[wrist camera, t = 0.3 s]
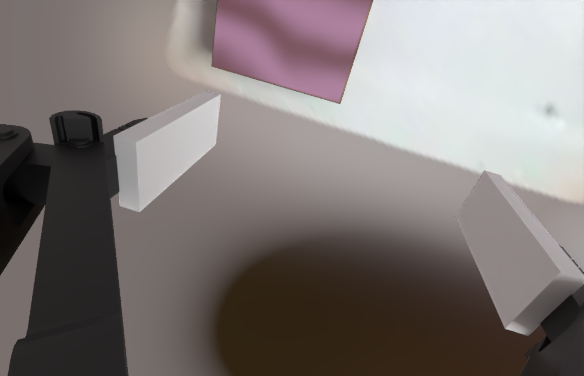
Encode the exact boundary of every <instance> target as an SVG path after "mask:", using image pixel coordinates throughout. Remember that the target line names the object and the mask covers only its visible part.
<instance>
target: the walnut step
mask: <svg viewBox="0 0 584 376" xmlns="http://www.w3.org/2000/svg"><path fill="white" fill-rule="evenodd" d="M372 3H373V0H217V10H216V21H215V32H214V44H213V55H212V67H215V68H219V69H222V70H226V71H229V72H233V73H236V74H239V75H243V76H246V77H250V78H253V79H256V80H260V81H263V82H267V83H270V84H274V85H277V86H280V87H284V88H287V89H291V90H294V91H297V92H301V93H304V94H308V95H311V96H315V97H318V98H321V99H325V100H328V101H332V102H335V103H338V104H340V103H341V100H342V97H343V94H344V91H345V88H346V84H347V81H348V78H349V75H350V72H351V69H352V66H353V62H354V59H355V56H356V53H357V50H358V47H359V44H360V40H361V37H362V34H363V31H364V28H365V25H366V22H367V18H368V15H369V12H370V9H371V6H372Z"/></svg>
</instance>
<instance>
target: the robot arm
mask: <svg viewBox="0 0 584 376" xmlns="http://www.w3.org/2000/svg"><path fill="white" fill-rule="evenodd" d="M220 97H221V94H218V93H215V92H211V91H208V90H206V91H203V92H201V93H199V94H197V95H195V96H193V97H191V98H189V99H187V100H185V101H183V102H181V103H179V104H177V105H175V106H173V107H171V108H169V109H167V110H165V111H163V112H161V113H159V114H157V115H155V116H152V117H151V118H143V119H138V120H134V121H131V122H129V123H127V124H125V126H124V125H123V126H121V127H119V128H118V129H114V130H112V131H110V132H108V133H106V134H104V135H103V129H102V119H101V118H100V116H98V115H96V114H94V113H91V112H86V111H64V112H58V113H56V114H54V115H52V116H51V117H50V118H49V119H50V124H51V129H52V134H53V139H54V145H48V144H41V143H33V141H32V136H31V133H30V131H29V130H28V129H26V128H24V127H21V126H14V125H6V124H0V275H1V273H2V272H3V271H4V269H5V267H6V266H7V264H8V263H9V261H10V259H11V258H12V256H13V255H14V253H15V252H16V250H17V249H18V247H19V245H20V244H21V242H22V241H23V239H24V238H25V236H26V234H27V233H28V231H29V230H30V228H31V226H32V225H33V223H34V222H35V220H36V218H37V217H38V215H39V214H40V212H41V211H42V209H43V207H44V206H45V205H46V206H45V212H44V220H43V226H42V233H41V240H40V248H39V254H38V261H37V268H36V275H35V282H34V290H33V296H32V303H31V310H30V317H29V324H28V330H27V335H26V337H25V338H23V339H19V340H17V342H16V344H15V345H14V348H13V352H12V355H11V360H10V365H9V371H8V376H128V367H127V357H126V347H125V338H124V327H123V317H122V309H121V298H120V288H119V278H118V268H117V258H116V249H115V239H114V229H113V219H112V209H111V200H110V198H111V197H113V196H114V195H116V194H117V193H118V192H119V202H120V206H122V207H125V208H128V209H131V210H135V211H138V212H140V211H141V210H143V209H144V208H145V207H146V206H147V205H148V204H149V203H150V202H152V201H153V200H154V199H155V198H156V197H157V196H158V195H159V194H161V193H162V192H163V191H164V190H165V189H166V188H167V187H168V186H170V185H171V184H172V183H173V182H174V181H175V180H176V179H177V178H179V177H180V176H181V175H182V174H183V173H184V172H185V171H186V170H187V169H189V168H190V167H191V166H192V165H193V164H194V163H195V162H197V161H198V160H199V159H200V158H201V157H202V156H203V155H204V154H206V153H207V152H208V151H209V150H210V149H211V148H212V147H213V146H214V145H216V137H217V127H218V117H219V107H220ZM455 217H456V219H457V221H458V223H459V226H460V228H461V230H462V233H463V235H464V237H465V239H466V242H467V244H468V246H469V248H470V251H471V253H472V255H473V257H474V260H475V262H476V264H477V266H478V269H479V271H480V273H481V275H482V278H483V280H484V282H485V284H486V287H487V289H488V291H489V293H490V296H491V298H492V300H493V302H494V305H495V307H496V309H497V311H498V314H499V316H500V318H501V320H502V323H503V325H504V327H505V329H508V330H511V331H515V332H518V333H521V334H524V335H527V336H528V335H530V334H531V333H532V332H533V331H534V330H535V329H536V328H537V327H538V326H539V325H540V324H541V326H542V327H543V329H544V331H545V333H546V336H545V337H544V338H543V339H542V340H540V341H539V342H538V343H537V344H536V345H535V346H534V347H533V348H531V349H530V350H529V351H528V352H527V353H526V354H525V356H526V357H527V358H528V357H530V358H529V360H528V362H527V363H526V365H525V367H524V368H523V370H522V372H521V374H520V375H519V376H584V272H583V271H582V270H581V269H580V268H578V265H577V264H576V263H575V261H574V260H572V259H571V257H570V255H569V254H568V253H567V252H566V251H565V250H564V248H563V247H561V246H560V245H559V244H558V243H557V242H556V241H555V240H554V239H553V238H552V236H551V235H550V234H549V233H548V231H547V230H546V229H545V228H544V227H543V226H542V224H541V223H540V222H539V221H538V220H537V218H536V217H535V216H534V215H533V214H532V212H531V211H530V210H529V209H528V208H527V206H526V205H525V204H524V203H523V202H522V200H521V199H520V198H519V197H518V196H517V195H516V193H515V192H514V191H513V190H512V188H511V187H510V186H509V185H508V184H507V182H506V181H505V180H504V179H503V178H502V176H501V175H498V174H495V173H491V172H488V171H484V172H483V173H482V175H481V176H480V178H479V179H478V181H477V183H476V184H475V186H474V187H473V189H472V190H471V192H470V194H469V195H468V197H467V199H466V200H465V202H464V203H463V205H462V206H461V208H460V209H459V211H458V213H457V214H456V216H455Z"/></svg>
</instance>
